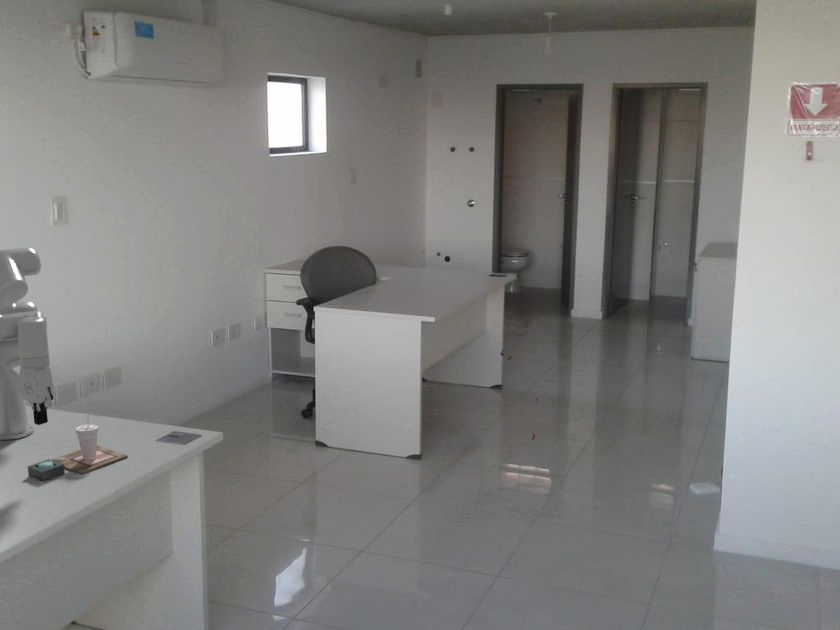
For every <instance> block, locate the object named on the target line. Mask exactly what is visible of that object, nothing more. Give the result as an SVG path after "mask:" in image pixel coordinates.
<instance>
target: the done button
mask: <svg viewBox="0 0 840 630" xmlns="http://www.w3.org/2000/svg"><path fill="white" fill-rule="evenodd" d="M52 466H53V462H43V463H40V464H39V465H38V468H40V469H43V470H44V469H47V468H49V467H52Z"/></svg>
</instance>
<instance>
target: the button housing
mask: <svg viewBox="0 0 840 630" xmlns="http://www.w3.org/2000/svg"><path fill="white" fill-rule="evenodd" d="M43 462H53V466H52V467H49V468H47V469H44V470H43V469H40V468H38V465H39V464H40V463H43ZM65 471H66V470H65V468H64V464H62V463H59V462H56V461H54V460H52V459H50V458H49V459H45V460H42V461H40V462H39V461H38V462H37V463H34V464H31V465H28V466H27V473H28V477H29V476H30V478H32V477H33V478H32V479H34V478H36V479H35V480H37V479H38V480H37V481H39V480H40V482H42V481H44V482H46V480H47V481H50V480H52V479H55V478H58V477H60V476H63V475H66V474H65V473H66V472H65Z"/></svg>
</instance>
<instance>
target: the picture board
mask: <svg viewBox="0 0 840 630" xmlns="http://www.w3.org/2000/svg"><path fill="white" fill-rule="evenodd" d="M127 457H128V458H129V456H128V455H127V454H124V453H121V452H117V451H115V450H112V449H109V448H106V447H103V446H99V445H97V451H96V459H94V460H89V461H86V460H83V456H82V452H81V449H79V450H76V451H73V452H71V453H67V454H65V455H62V456H61V455H60V456H58V457H56V458H52V459H51V460H54V461H56V462H59V463H62V464H64V470H68V471H70V472H73V473H76V474H78V475H84V474H85V475H86V474H87V473H90V472H92V471H95V470H98V469H101V468H103V467H106V466H108V465H111V463H112V464H115V463H117V462H120V461H122V460H124V459H128V458H127Z"/></svg>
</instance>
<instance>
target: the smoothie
mask: <svg viewBox="0 0 840 630" xmlns="http://www.w3.org/2000/svg"><path fill="white" fill-rule="evenodd" d="M85 415H86V423H85V424H82V425H79V426H77V427H76V428H75V433H76V434H77V439H78V442H79V447H80V450H81V452H82V456H83V460H86V461H89V460H94V459H96V451H97V446H98V431H99V425H97V424H95V423H93V424H92V423H90V416H89V413H86V414H85Z"/></svg>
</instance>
